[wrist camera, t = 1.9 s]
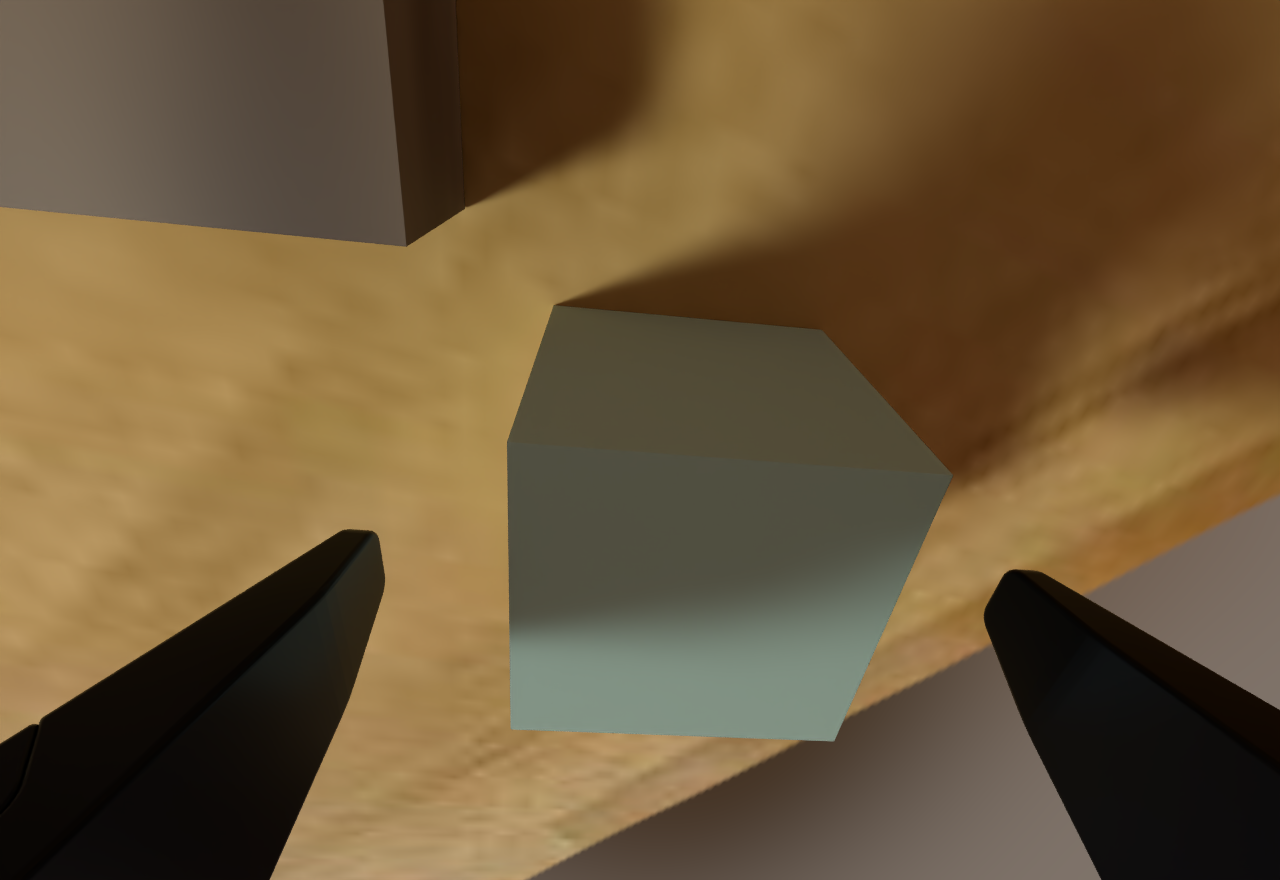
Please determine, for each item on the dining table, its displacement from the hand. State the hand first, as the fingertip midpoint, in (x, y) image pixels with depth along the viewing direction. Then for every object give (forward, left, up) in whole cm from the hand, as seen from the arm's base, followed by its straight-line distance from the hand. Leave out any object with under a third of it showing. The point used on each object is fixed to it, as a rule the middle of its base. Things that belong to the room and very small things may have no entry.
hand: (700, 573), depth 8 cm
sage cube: (0, 0, -4) cm, 4 cm away
